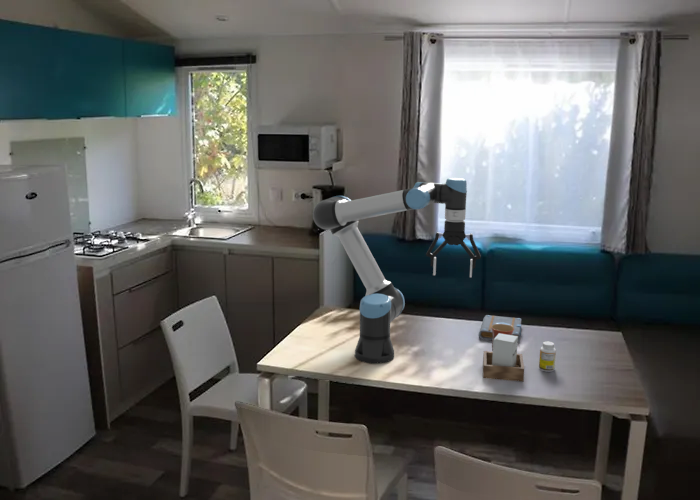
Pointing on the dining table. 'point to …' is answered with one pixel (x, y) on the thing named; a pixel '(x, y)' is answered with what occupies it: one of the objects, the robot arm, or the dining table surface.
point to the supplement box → (505, 350)
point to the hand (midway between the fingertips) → (452, 275)
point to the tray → (503, 369)
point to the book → (492, 320)
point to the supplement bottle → (547, 357)
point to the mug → (501, 330)
